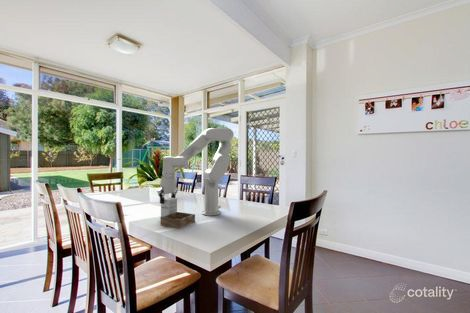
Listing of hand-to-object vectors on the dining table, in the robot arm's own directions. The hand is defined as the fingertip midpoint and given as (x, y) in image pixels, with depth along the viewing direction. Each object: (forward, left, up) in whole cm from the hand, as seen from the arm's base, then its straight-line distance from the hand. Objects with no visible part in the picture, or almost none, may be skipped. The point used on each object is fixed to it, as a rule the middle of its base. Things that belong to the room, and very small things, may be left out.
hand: (167, 202), depth 141 cm
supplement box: (-1, +1, -10) cm, 10 cm away
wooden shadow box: (+5, +14, -10) cm, 18 cm away
